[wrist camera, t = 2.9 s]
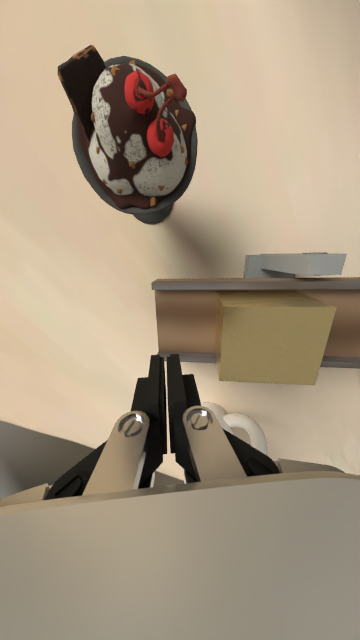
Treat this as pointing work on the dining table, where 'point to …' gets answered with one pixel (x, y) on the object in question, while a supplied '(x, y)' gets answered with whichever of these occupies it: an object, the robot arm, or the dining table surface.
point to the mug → (241, 422)
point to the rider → (271, 336)
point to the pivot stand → (293, 265)
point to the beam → (201, 294)
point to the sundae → (130, 132)
